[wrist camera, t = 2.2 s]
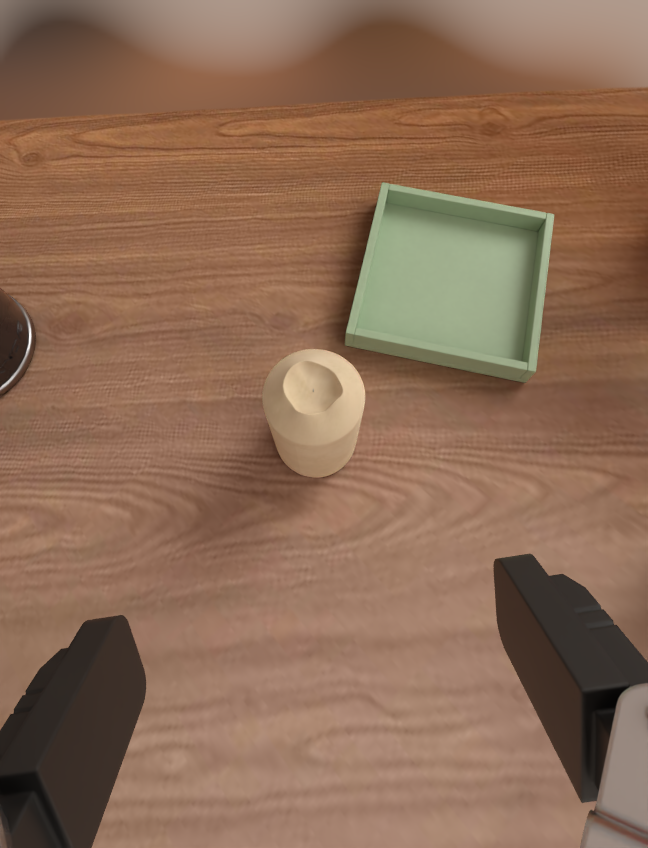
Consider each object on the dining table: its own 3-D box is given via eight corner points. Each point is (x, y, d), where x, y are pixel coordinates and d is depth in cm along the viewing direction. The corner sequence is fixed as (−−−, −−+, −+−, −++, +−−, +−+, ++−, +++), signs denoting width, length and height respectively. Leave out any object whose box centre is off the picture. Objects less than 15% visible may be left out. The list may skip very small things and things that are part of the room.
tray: (344, 345, 38) (345, 332, 36) (379, 200, 42) (382, 181, 40) (525, 383, 37) (536, 372, 35) (543, 231, 41) (554, 213, 39)
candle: (367, 417, 36) (382, 356, 27) (339, 490, 35) (345, 453, 25) (293, 391, 37) (283, 322, 28) (263, 461, 35) (241, 415, 26)
